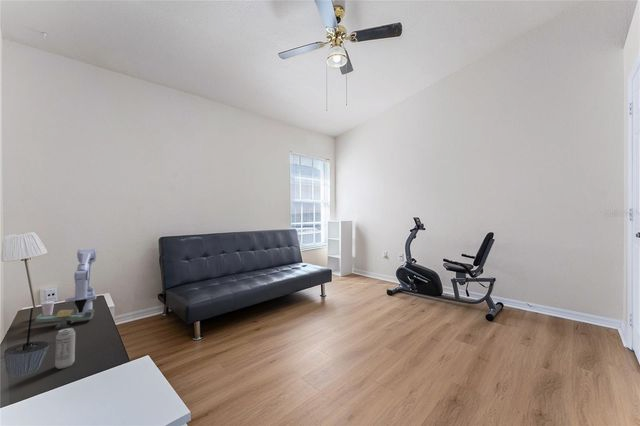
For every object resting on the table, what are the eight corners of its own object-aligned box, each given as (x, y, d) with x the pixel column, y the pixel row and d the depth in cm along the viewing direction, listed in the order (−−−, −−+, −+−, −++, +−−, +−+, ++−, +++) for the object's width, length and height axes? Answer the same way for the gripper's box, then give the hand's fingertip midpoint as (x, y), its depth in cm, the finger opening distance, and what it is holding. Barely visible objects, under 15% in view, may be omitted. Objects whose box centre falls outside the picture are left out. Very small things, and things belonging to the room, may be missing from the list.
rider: (59, 315, 163) (60, 310, 163) (72, 315, 166) (73, 309, 166) (56, 318, 159) (57, 312, 159) (69, 317, 162) (70, 311, 162)
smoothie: (38, 318, 174) (39, 296, 175) (52, 315, 180) (52, 294, 180) (42, 319, 171) (43, 297, 172) (56, 316, 177) (56, 295, 177)
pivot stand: (62, 322, 166) (62, 314, 167) (75, 320, 169) (75, 312, 169) (55, 328, 156) (55, 320, 156) (68, 326, 159) (68, 318, 159)
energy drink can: (78, 361, 118) (79, 327, 118) (65, 369, 112) (66, 332, 112) (64, 362, 117) (65, 327, 118) (50, 369, 111) (52, 333, 112)
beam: (40, 317, 161) (42, 310, 161) (93, 315, 172) (94, 308, 173) (33, 322, 153) (35, 315, 153) (89, 319, 165) (90, 312, 165)
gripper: (63, 293, 160) (62, 316, 159) (94, 290, 167) (94, 312, 166) (67, 290, 166) (66, 312, 165) (97, 287, 173) (96, 308, 172)
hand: (80, 312), depth 166 cm, fingers closed
